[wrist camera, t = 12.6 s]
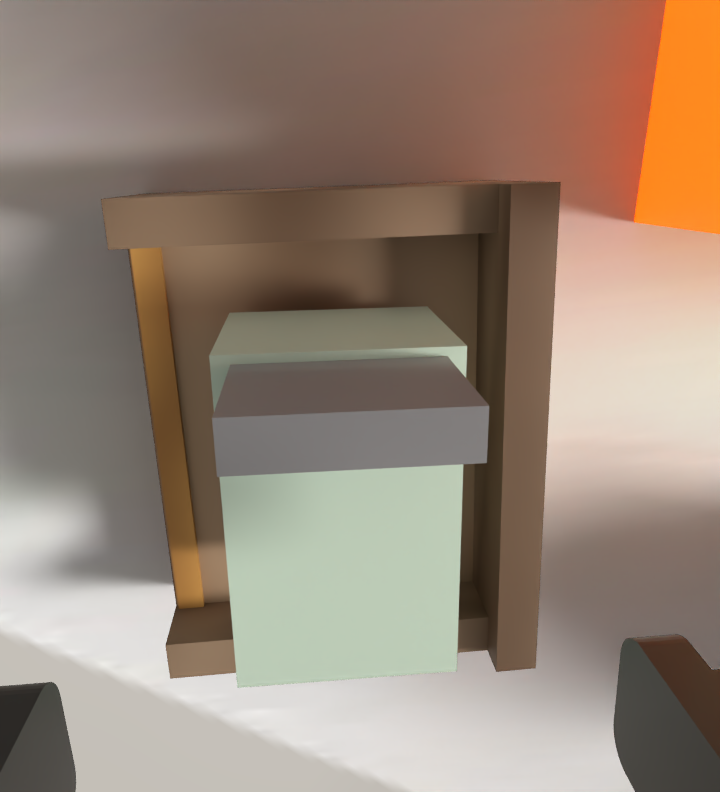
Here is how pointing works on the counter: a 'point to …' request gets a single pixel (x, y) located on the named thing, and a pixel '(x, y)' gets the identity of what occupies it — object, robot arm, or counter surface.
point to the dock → (351, 289)
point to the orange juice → (684, 123)
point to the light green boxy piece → (343, 490)
